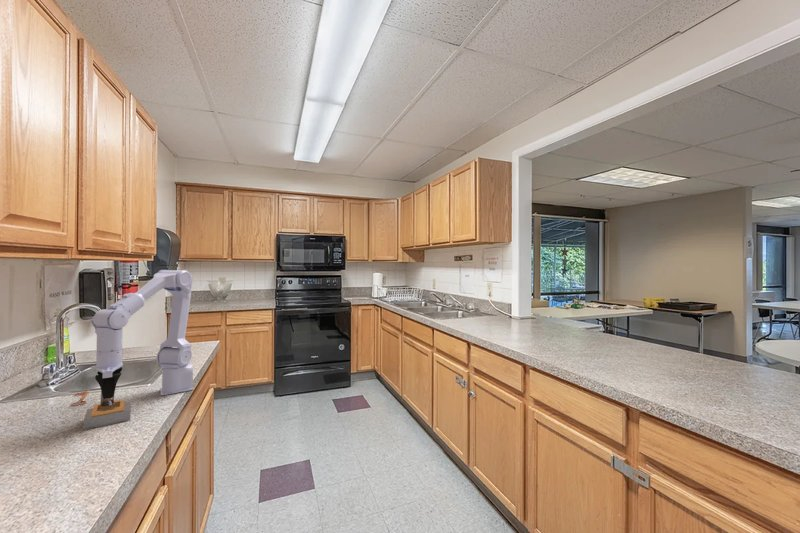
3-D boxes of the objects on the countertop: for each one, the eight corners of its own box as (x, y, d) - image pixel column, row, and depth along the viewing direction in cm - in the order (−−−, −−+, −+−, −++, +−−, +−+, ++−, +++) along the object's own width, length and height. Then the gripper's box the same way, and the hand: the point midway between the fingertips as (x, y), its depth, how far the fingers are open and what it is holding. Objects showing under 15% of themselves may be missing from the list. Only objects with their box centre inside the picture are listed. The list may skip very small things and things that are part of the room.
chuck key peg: (114, 400, 99) (116, 382, 99) (114, 404, 97) (115, 386, 97) (99, 403, 97) (100, 384, 97) (98, 407, 95) (100, 388, 94)
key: (73, 395, 116) (60, 410, 104) (73, 392, 116) (60, 407, 104) (95, 390, 120) (85, 405, 107) (95, 388, 120) (85, 402, 107)
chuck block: (130, 410, 103) (131, 397, 103) (130, 420, 97) (130, 406, 97) (87, 419, 97) (87, 405, 97) (83, 430, 91) (83, 415, 91)
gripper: (93, 346, 100) (93, 391, 100) (87, 357, 89) (87, 407, 89) (124, 343, 105) (123, 386, 105) (122, 353, 93) (121, 401, 93)
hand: (108, 395), depth 97 cm, fingers closed on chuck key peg, 3 cm apart
